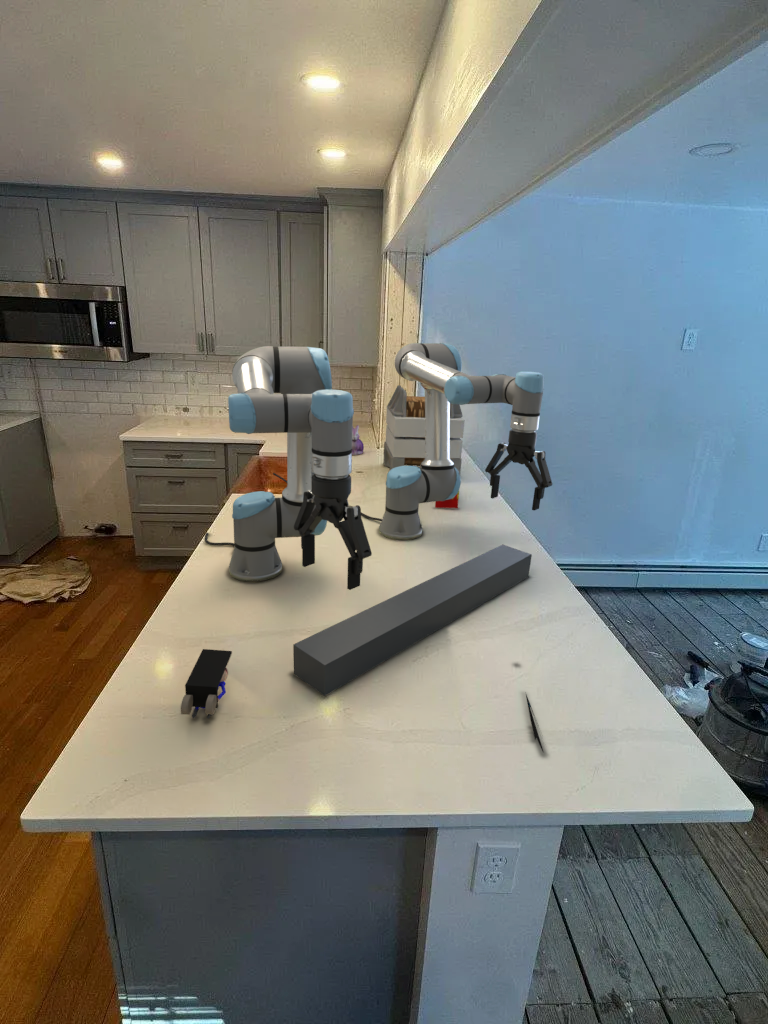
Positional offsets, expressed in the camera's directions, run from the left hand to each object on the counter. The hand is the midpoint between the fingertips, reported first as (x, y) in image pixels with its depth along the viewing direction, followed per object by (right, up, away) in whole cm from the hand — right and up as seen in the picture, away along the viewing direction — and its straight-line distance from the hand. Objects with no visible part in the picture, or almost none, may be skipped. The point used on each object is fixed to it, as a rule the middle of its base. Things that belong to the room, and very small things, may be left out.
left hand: (330, 575), depth 114 cm
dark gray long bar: (+23, -14, +33) cm, 42 cm away
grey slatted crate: (+28, +32, +161) cm, 166 cm away
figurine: (-4, +45, +192) cm, 198 cm away
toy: (+35, +19, +126) cm, 132 cm away
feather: (+40, -26, +1) cm, 48 cm away
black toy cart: (-24, -25, -2) cm, 34 cm away
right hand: (+48, +15, +49) cm, 70 cm away
